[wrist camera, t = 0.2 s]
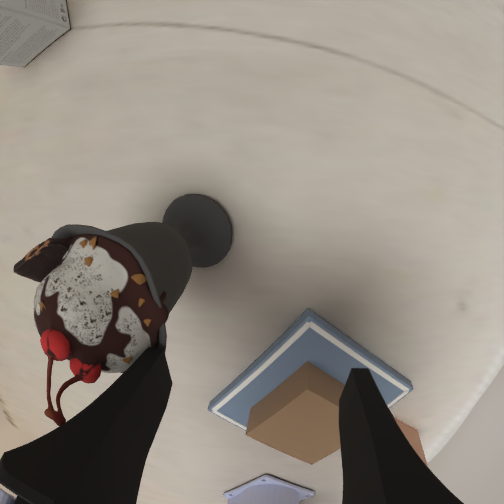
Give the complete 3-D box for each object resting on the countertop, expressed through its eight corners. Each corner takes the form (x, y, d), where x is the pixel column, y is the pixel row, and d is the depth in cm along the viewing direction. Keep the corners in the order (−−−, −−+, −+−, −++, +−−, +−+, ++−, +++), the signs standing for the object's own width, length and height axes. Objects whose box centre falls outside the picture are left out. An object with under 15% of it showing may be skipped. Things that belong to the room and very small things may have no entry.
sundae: (247, 283, 21) (120, 483, 7) (158, 272, 22) (0, 408, 9) (246, 181, 18) (31, 303, 5) (149, 180, 20) (-63, 263, 6)
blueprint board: (309, 452, 27) (308, 483, 23) (209, 402, 26) (199, 434, 22) (410, 381, 23) (422, 414, 19) (308, 308, 21) (310, 341, 18)
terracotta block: (380, 453, 27) (386, 489, 22) (350, 440, 26) (354, 480, 21) (416, 429, 25) (427, 466, 20) (389, 414, 24) (399, 455, 20)
